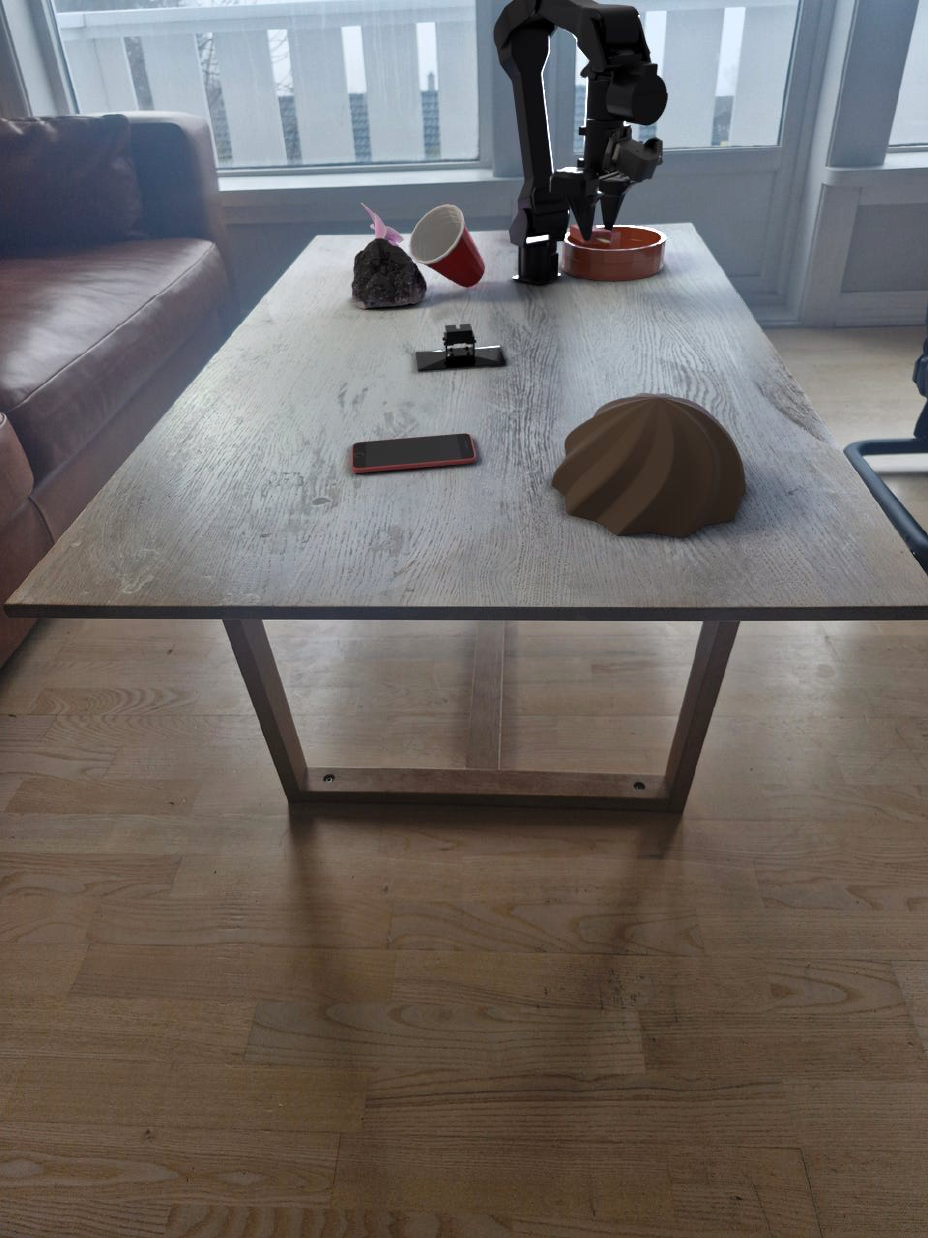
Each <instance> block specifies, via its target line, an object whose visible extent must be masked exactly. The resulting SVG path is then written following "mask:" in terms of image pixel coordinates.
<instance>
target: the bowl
mask: <svg viewBox="0 0 928 1238" xmlns="http://www.w3.org/2000/svg"><path fill="white" fill-rule="evenodd" d="M596 226H597V227H599V228H602V229H604V225H596ZM666 243H667V237H666V235H665V234H664V233H663V232H661V231H658V230H656V229H654V228H649V227H643V226H637V225H636V226H635V225H621V224H619V225H615V224H614V227H613V230H612V239H611V243H610V244H584V243H582V242H580V241H578V240H577V239H575V238H573V237H572V236H570V235H569V232H567V233H566V237H565V241H562V249H561V250H562V251H561V254H562V256H561V268H562V271H563V272H565V273H566V274H568V275H570V276H572V277H576V278H580V279H584V280H585V279H586V280H593V281H606V282H607V281H608V282H609V281H611V282H613V281H614V282H615V281H616V282H617V281H631V280H632V281H633V280H638V279H643V278H647V277H651V276H653V275H657V274H658V273H659V272H660V271H662V269H663V265H664V258H665V249H666Z"/></svg>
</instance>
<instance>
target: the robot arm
mask: <svg viewBox="0 0 928 1238" xmlns="http://www.w3.org/2000/svg"><path fill="white" fill-rule="evenodd" d="M558 28H560V29H561V30H563V31H565V32H567V33H568V34H570V35H572V37H574V38H575V39H576V48H577V49H578V50H579V51H580V53H581V54H582V55H583V56H584V57H585V58H586V59H587V60H588V63H587V64H586V65H585V66H584V67H583V68H582V69H581V71H580V73H579V77H580V78H582V79H586V93H585V95H586V97H585V98H586V99H585V114H584V115H585V116H584V125H583V126H578V132H577V133H578V135H577V136H583V153H582V155H583V156H582V158H578V159H577V160H576V167H574V166H567V167H564V168H560V169H557V170H555V171H554V166H553V165H554V164H553V158H552V157H553V156H552V148H551V141H550V140H551V139H550V130H549V122H548V113H547V105H546V98H545V97H546V96H545V89H544V88H545V87H544V78H543V73H544V69H545V66H546V64H547V62H548V59H549V55H550V52H551V50H550V40H551V39H552V37H553V35H555V33H556V31H557V30H558ZM492 37H493V43H494V46H495V47H496V52H497V53H496V54H497V58H498V61H499V65H500V67H501V69H503V71H504V73H505V74H506V76H507V77H508V79H510V81H511V84H512V92H513V93H512V94H513V98H514V100H513V101H514V107H515V116H516V125H517V131H518V140H519V147H520V148H519V149H520V157H521V164H522V171H523V184H522V187H521V190H520V193H519V196H518V198H517V214H516V216H515V217H514V220H513V221H512V223H511V225H510V227H509V228H508V234H509V235H508V236H509V242H510V244H512V245H515V246H516V247H517V275H514V276H513V277H512V281H515V282H521V283H526V284H531V285H537V286H543V285H546V284H548V283H550V282H553V281H556V280H557V279H559V278H562V273H559V259H560V258H559V255H560V254H559V251H558V243H559V242H560V243H561V242H562V243H563V241H565V237H566V234H567V233H568V229H569V223H570V219H571V213H572V214H573V217H574V219H575V222H576V225H578V227H579V230H580V232H581V235H582V238H583V240H586V241H589V240H590V239H591V235H592V229H593V226H594V223H595V222H594V221H595V215H596V208H597V203H598V202H600V209H601V215H602V216H601V217H602V223H603V226H604V229H605V230H609V231H611V232H612V230H613V227H614V225H615V224H616V221H617V218H618V216H619V213H620V211H621V207H622V205H623V202H624V200H625V197H626V195H627V193H628V192H629V191H631V190H632V188H633V187H635V186H636V185H638V184H640V183H643V181H646V180H652V179H653V177H654V174H655V172H656V169H657V168H658V166H662V164H663V163H664V160H663V155H664V141H663V139H660V138H659V137H657V136H653V137H650V138H648V139H647V140H646V141H645V142H644V141H643V140H639V141H637V140H636V139H634V138H633V128H632V125H631V124H634V125H640V126H643V127H644V126H645V127H649V126H651V125H653V124H655V123H656V122H657V121H659V119H661V117H662V116H663V114H664V112H665V111H666V107H667V106H668V105H667V104H668V100H669V93H668V90H667V86H666V83H665V81H664V79H663V78H662V77H661V76H660V75H659V74H658V69H659V64H658V63H657V62H652V58H651V53H652V52H651V49H650V48H649V45H648V43H647V39H646V36H645V31H644V28H643V24H642V21H641V19H640V13H639V11H638V9H637V8H636V7H635V6H633V5H627V4H612V3H611V4H609V3H599V2H597V1H595V0H511V1H510V2H509V3H508V4H506V5H505V6H504V7H503V9H502V11H501V13H500V15H499V16H498V18H497V20H496V22H495V24H494V26H493V36H492ZM626 123H628V124H626ZM570 210H571V211H570Z"/></svg>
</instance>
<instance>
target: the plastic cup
mask: <svg viewBox="0 0 928 1238" xmlns="http://www.w3.org/2000/svg"><path fill="white" fill-rule="evenodd" d="M408 250H409V257H411V259H412V260H413V261H414V262H415V263H416V264H417V263H418V264H422V265H424V266H426V267H427V268H429V269H432V270H433V271H435V272H436V273H438V274H439V275H441V276H442V277H444V278H446V279H447V280H449V281H451V282H453V283H454V284H456V285H458V286H460V287H462V288H464V289H467V288H472V287H474V286H476V285H478V283H479V282H481V280H482V279H483V276H484V274H485V272H486V265H485V261H484V258H483V257H482V255H481V253H480V251H479V248H478V247H477V245H476V243H475V241H474V239H473V237H472V235H471V233H470V232H469V230H468V228H467V225H466V223H465V218H464V213H463V211H462V209H460V208H459V207H458V206H457V205H455V204H450V203H449V204H448V203H445V204H442V205H438V206H435V207H434V208H432V209H431V210H430V211H428V212H427V213H424V215H423V216H422V218H420V220H419V221H418V222H417V223H416V224H415V227H414V228H413V231H412V232H411V234H410V237H409V243H408Z"/></svg>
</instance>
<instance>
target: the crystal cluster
mask: <svg viewBox="0 0 928 1238" xmlns="http://www.w3.org/2000/svg"><path fill="white" fill-rule="evenodd" d="M400 247H401V246H400ZM400 247H398V246H396V245H392V244H391V243H390V241H389V240H388V239H383V238H376V237H375V238H374V239H373V240H371V241H370V242H368V243H367V245H366V246H365V248H364V249H363V250H360V251H359V252H357V253H356V254H355V256H354V260H353V268H352V271H353V280H352V282H351V298H352V302H354V303H355V305H356V306H357V307H358V308H359V309H363V310H364V309H375V308H382V307H383V308H384V307H398V306H404V305H408V304H412V305H413V304H417V303H420V302H421V301H423V300H424V299H425V297H426V293H427V291H428V283H427V281H426V278H425V276H424V274H423V273H422V271H421V270H420V269H419V267H418V265H417V262H415V261H414V260H413V258H412V257H411V256H410V255H408V254H407V252H406V251H405V250H404V249H403V248H402V247H401V248H400Z"/></svg>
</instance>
